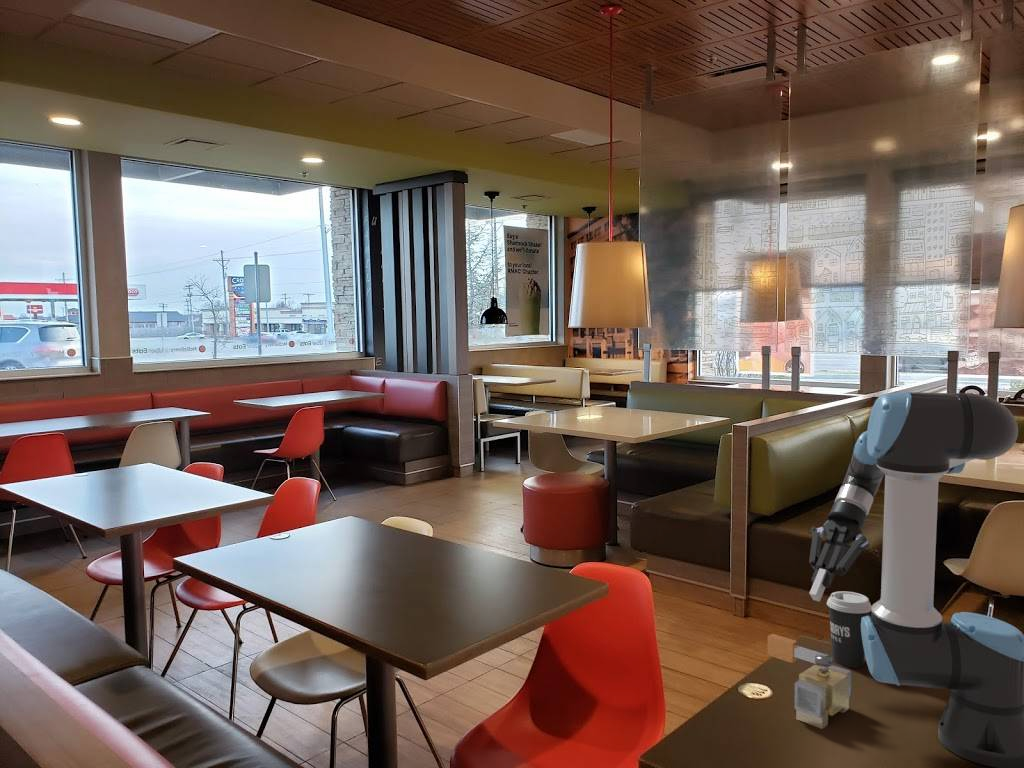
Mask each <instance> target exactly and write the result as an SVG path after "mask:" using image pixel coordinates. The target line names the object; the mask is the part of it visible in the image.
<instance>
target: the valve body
mask: <svg viewBox="0 0 1024 768" xmlns="http://www.w3.org/2000/svg"><path fill="white" fill-rule="evenodd" d="M851 690H852V670H849V669H845V668H843V667H840V666H836V665H833V664H832V666H829V667H828V672H821V671H819V665H818V664H814V665H812V666H810V667H809V668H807V669H805V670H804V671H802V672H800V673H799V674H798V680H797V681H795V682H794V704H793V705H794V710H796V712H795V713H796V716H795V719H796V720H797V721H800V722H801V723H802V722H803V723H806V724H808V725H811V726H813V727H816V728H819V729H821V730H823V729H824V728H827V726H828V725H829V716H832V717H833V716H835V715H836V714H837V713H838V712H839V713H842V714H845V713H846V712H847V711H849V707H850V703H849V702H850V697H851V696H852V695H851V693H852V691H851Z"/></svg>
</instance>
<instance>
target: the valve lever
mask: <svg viewBox="0 0 1024 768" xmlns="http://www.w3.org/2000/svg"><path fill="white" fill-rule="evenodd" d="M798 642H799V641H798V640H795V639H791V638H789V637H786V636H782V635H778V634H775V633H771V634H769V635H767V656H770V657H773V658H776V659H779V660H780V661H785V662H787V663H792V664H793V663H795V662H797V661H798V659H800V660H802V661H806V662H809V663H813V664H814V665H817V666H819V671H821V672H828V667H829V666H832V665H833V656H831V655H829V654H826V653H823V652H819V651H817V650H813V649H810V648H806V647H803V646H799V645H798Z"/></svg>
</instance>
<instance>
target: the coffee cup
mask: <svg viewBox="0 0 1024 768" xmlns="http://www.w3.org/2000/svg"><path fill="white" fill-rule="evenodd" d="M826 606H828V610H829V611H828V613H829V624H830V638H831V639H830V640H831V649H832V650H831V651H832V658H833V659H832V661H834V662H835V663H836V664H838V665H840V664H841V665H840V666H843V665H845V666H844V667H848V666H850V667H849V668H857V667H858V666H859V667H862V666H863V665H864V663H865V662H864V661H865V653H864V648H863V642H862V635H861V619H862V617H866V616H870V612H871V610H872V605H871V602H870V599H869V597H867V596H866V595H864V594H861V593H858V592H854V591H843V590H841V591H839V590H838V591H835V592H832V593H831V594H830V596H829V597H828V599H827V601H826ZM859 667H858V668H859Z"/></svg>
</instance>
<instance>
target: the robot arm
mask: <svg viewBox="0 0 1024 768" xmlns="http://www.w3.org/2000/svg"><path fill="white" fill-rule="evenodd" d="M1018 427H1019V426H1018V423H1017V420H1016V417H1015V415H1013V413H1012V412H1011V410H1009V409H1008V408H1007V407H1006V406H1005V405H1004V404H1003V403H1001V402H999V401H998V400H996V399H994V398H992V397H989V396H986V395H983V394H978V393H973V392H972V393H971V392H955V393H954V392H953V393H952V392H918V391H917V392H914V391H913V392H910V391H909V392H908V391H903V392H888V393H883V394H881V395H880V396H879V397H878V398H876V399H875V402H874V404H873V405H872V408H871V411H870V414H869V418H868V424H867V430H865V431H863V432H862V433H861V434H860V435H859V437H858V439H857V440H856V442H855V444H854V447H853V452H852V455H851V456H852V457H851V460H850V461H849V465H848V468H847V471H846V474H845V476H844V479H843V481H842V484H841V485H840V488H839V491H838V493H837V495H836V497H835V500H834V503H833V505H832V506H831V509H830V512H829V514H828V518H827V520H826V522H824V523H823V525H822V526H820V527H816V526H812V527H810V528H811V529H810V531H811V535H812V538H811V545H810V553H809V559H808V562H809V564H810V566H811V568H812V569H813V570H814V572H813V573H812V577H811V583H812V586H811V589H810V590H809V593H808V594H809V595H810V597H811V598H812V600H813V601H816V602H819V603H820V602H821V599H822V597H823V595H824V592H825V590H826V588H830V587H831V585H832V582H833V580H834V577H836V576H838V575H839V576H842V577H843V576H845V575H846V573H847V572H848V571H849V569H850V568H851V567H852V565H853V564H854V563H855V561H856V560H857V558H858V557H859V556H860V554H861V553H862V551H864V550H866V548H868V547H869V546H870V543H869V541H868V539H867V537H866V536H865V535H862V530H863V528H864V526H865V523H866V520H867V518H868V515H869V513H870V510H871V507H872V505H873V503H874V499H875V496H876V495H877V492H878V489H879V488H880V485H881V483H882V480H883V478H884V500H883V501H884V502H883V503H884V504H883V527H882V531H883V532H882V554H881V555H882V556H881V557H882V559H881V583H880V584H881V585H880V587H881V589H880V599H879V600H877V601H876V602H874V603H873V604H872V605H871V606H872V610H871V611H870V612H871V614H870V615H871V616H870V615H869V616H866V617H862V619H861V635H862V642H863V648H864V653H865V656H864V659H865V661H866V665H867V668H868V671H869V673H870V675H871V676H872V678H873V679H874V680H875V681H876V682H879V683H884V684H891V685H896V686H899V687H900V686H908V687H910V686H911V687H922V688H932V689H943V690H944V689H945V690H949V699H948V701H947V704H945V708H944V710H943V712H942V715H941V718H940V719H939V722H938V728H937V729H938V730H937V733H938V734H937V737H938V740H939V742H940V743H941V745H943V747H944V748H945V749H947V750H948V751H950V752H951V753H953V754H954V755H957V756H959V757H960V758H963V759H965V760H968V761H970V762H972V763H976V764H979V765H983V766H987V767H992V768H1024V634H1023V632H1022V631H1020V629H1018V628H1017V627H1015V626H1014V625H1012V624H1010V623H1008V622H1006V621H1003V620H1001V619H998V618H996V617H992V616H989V615H984V614H982V613H975V612H970V611H969V612H968V611H967V612H966V611H961V612H955V613H953V614H952V616H951V618H950V622H946V621H945V622H943V616H942V614H941V613H940V612H939V611H938V610H937V609H936V608H935V607H934V599H935V598H934V594H935V571H936V549H937V548H936V545H937V528H938V527H937V523H938V522H937V521H938V505H939V504H938V503H939V501H938V500H939V499H938V498H939V481H940V479H941V478H942V477H943V476H945V475H950V474H960V473H961V472H963V470H964V468H965V467H966V463H968V462H970V461H973V460H980V461H981V460H984V461H986V460H992V459H996V458H997V457H1000V456H1003V455H1005V454H1006V453H1008V452H1009V451H1010V450H1011V449H1012V448H1013V446H1014V445H1015V443H1016V441H1017V439H1018V435H1019V428H1018ZM824 534H825V539H824V540H825V541H824V544H823V546H822V539H823V538H824V537H823V536H824ZM849 545H851V546H850V547H849ZM821 546H822V547H823V548H822V549H821Z"/></svg>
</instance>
